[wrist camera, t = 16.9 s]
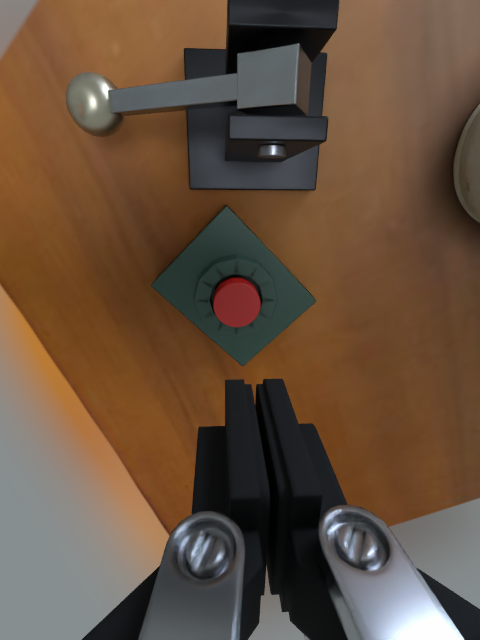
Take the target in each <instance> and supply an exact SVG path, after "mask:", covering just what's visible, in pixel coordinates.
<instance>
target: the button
mask: <svg viewBox="0 0 480 640" xmlns="http://www.w3.org/2000/svg"><path fill="white" fill-rule="evenodd" d="M260 306H261V304H260V298H259V295H258V292H257V290H256V288H255V286H254V285H253V284H252V283H251V282H250V281H248V280H246V279H244V278H240V277H232V278H229V279H226V280H224V281H223V282H222V283H220V284H219V286H218V287H217V289H216V291H215V293H214V303H213V307H214V312H215V314H216V316H217V318H218V319H219V320H220V321H221V322H222V323H224V324H226V325H228V326H231V327H242V326H246V325H248V324H250V323H251V322H252V321H253V320H254V319H255V318H256V317H257V315H258V314H259V311H260Z"/></svg>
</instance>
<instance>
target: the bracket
mask: <svg viewBox="0 0 480 640" xmlns="http://www.w3.org/2000/svg"><path fill="white" fill-rule="evenodd" d="M338 9H339V0H228V4H227V35H226V49H196V48H184V64H185V80H189V79H196V78H204V77H211V76H219V75H226V74H234V73H237V54H238V53H239V52H244V51H250V50H256V49H263V48H269V47H275V46H282V45H288V44H294V43H299V44H300V45H301V47H302V48H303V50H304V52H305V53H306V55H307V56H308V58H309V59H310V61H311V63H312V64H311V78H310V92H309V106H308V115H306V116H294V115H249V114H245V113H243V112H241V111H239V110H238V109H237V106H226V107H215V108H205V109H194V110H186V112H187V136H188V160H189V183H190V189H226V190H315V189H316V179H317V167H318V156H319V144H321V143H323V142H325V141H326V139H327V128H328V117H327V116H322V109H323V98H324V86H325V75H326V63H327V53H320V52H321V50H322V49H323V47H324V46H325V45H326V43H327V42H328V40H329V39H330V38H331V36H332V35H333V33H334V32H335V31H336V29H337V20H338Z"/></svg>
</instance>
